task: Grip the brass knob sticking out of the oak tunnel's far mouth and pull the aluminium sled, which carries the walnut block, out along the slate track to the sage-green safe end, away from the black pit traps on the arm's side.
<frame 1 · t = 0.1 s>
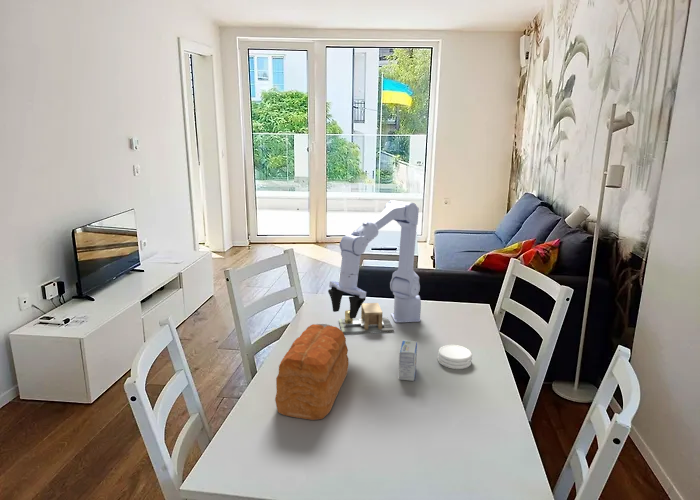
hand: (344, 314, 154), 10 cm above the table, tool pointing down, fingers open, 7 cm apart
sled: (363, 317, 170), point 3 cm above the table, slide at 0.0 cm
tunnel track: (371, 326, 171), on the table
bread: (314, 391, 130), on the table
coffee mug: (321, 358, 148), on the table
medicine box: (407, 374, 139), on the table
coaster: (454, 362, 147), on the table
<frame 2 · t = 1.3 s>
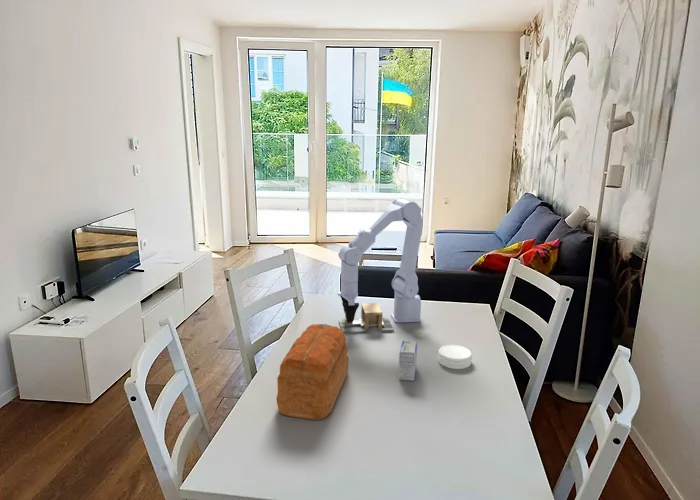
hand: (348, 317, 169), 4 cm above the table, tool pointing down, fingers open, 7 cm apart
nothing on the table moved.
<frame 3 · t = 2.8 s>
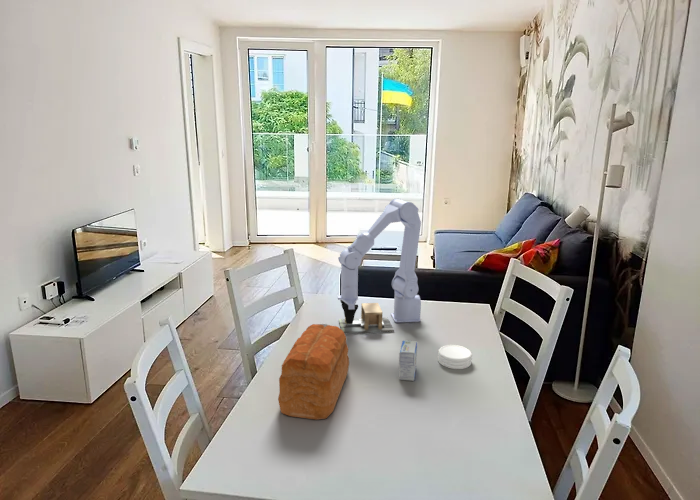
hand: (348, 321, 169), 2 cm above the table, tool pointing down, fingers closed on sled, 3 cm apart
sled: (363, 317, 170), point 4 cm above the table, slide at 0.0 cm, touching gripper
bread: (316, 390, 130), on the table, touching coffee mug
coffee mug: (321, 358, 148), on the table, touching bread
everything else where it was.
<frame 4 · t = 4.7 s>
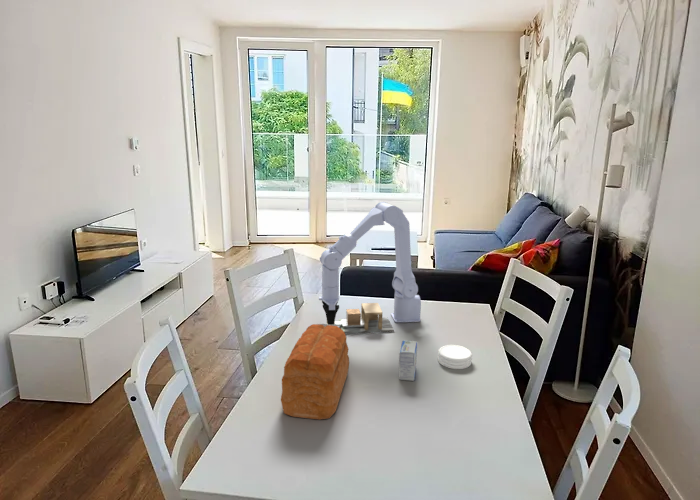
hand: (330, 321, 169), 2 cm above the table, tool pointing down, fingers closed on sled, 3 cm apart
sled: (345, 317, 169), point 4 cm above the table, slide at 6.4 cm, touching gripper
bread: (317, 390, 130), on the table
coffee mug: (321, 358, 148), on the table
everything else where it was.
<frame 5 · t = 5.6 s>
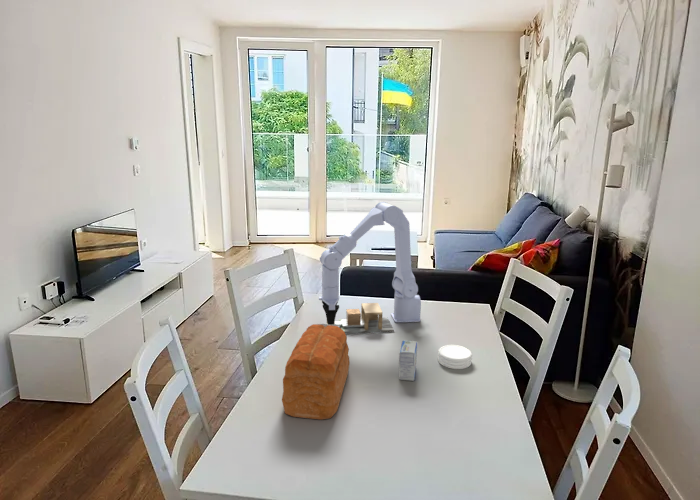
hand: (330, 321, 169), 2 cm above the table, tool pointing down, fingers closed on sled, 3 cm apart
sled: (345, 317, 169), point 4 cm above the table, slide at 6.4 cm, touching gripper
bread: (318, 391, 130), on the table, touching coffee mug
coffee mug: (321, 358, 148), on the table, touching bread
everything else where it was.
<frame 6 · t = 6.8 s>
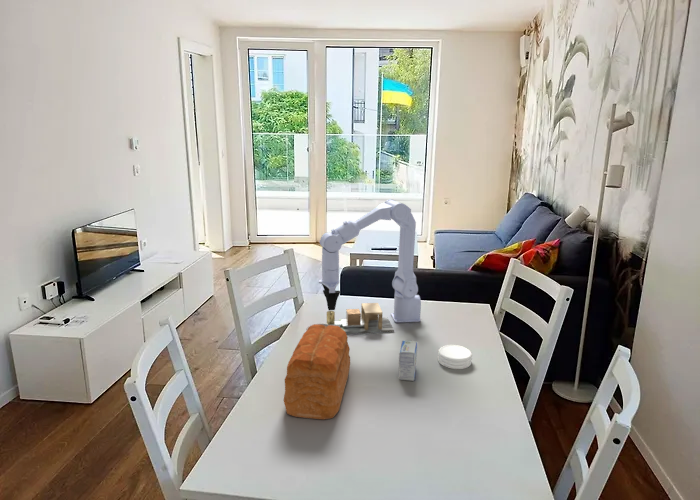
hand: (330, 305, 167), 8 cm above the table, tool pointing down, fingers open, 7 cm apart
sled: (345, 317, 169), point 3 cm above the table, slide at 6.4 cm
bread: (319, 391, 130), on the table
coffee mug: (321, 358, 148), on the table
everything else where it was.
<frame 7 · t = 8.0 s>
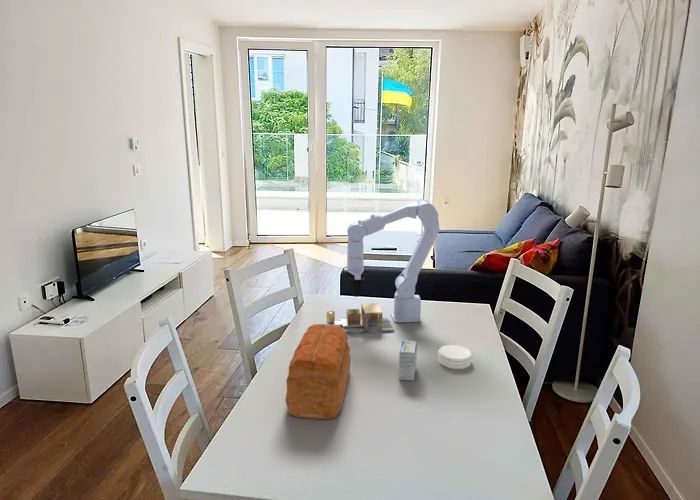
hand: (354, 292, 175), 10 cm above the table, tool pointing down, fingers open, 7 cm apart
nothing on the table moved.
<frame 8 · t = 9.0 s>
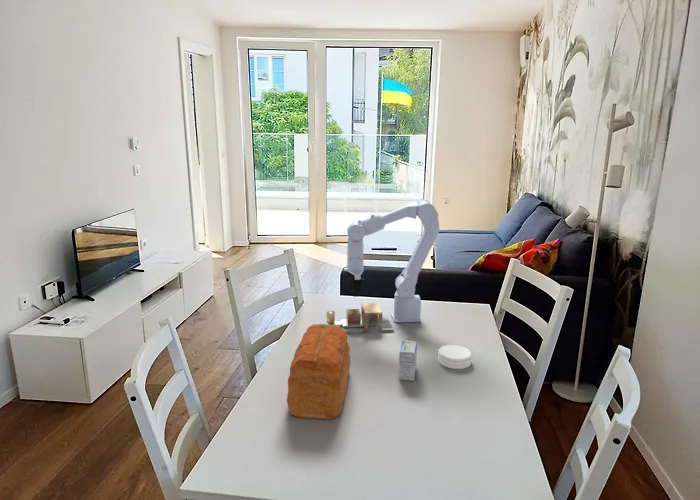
hand: (354, 292, 175), 10 cm above the table, tool pointing down, fingers open, 7 cm apart
nothing on the table moved.
at the end: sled slide at 6.4 cm; the gripper is holding nothing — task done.
